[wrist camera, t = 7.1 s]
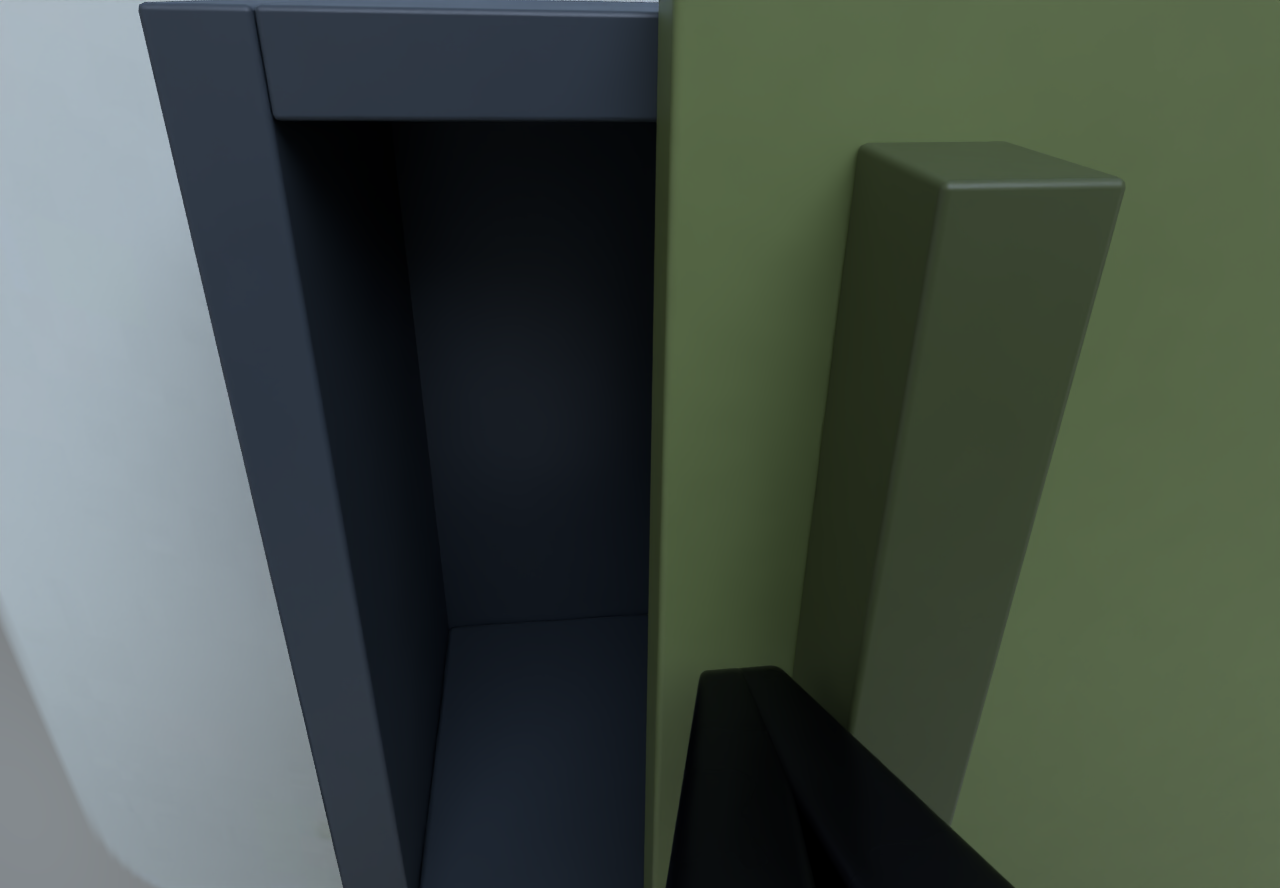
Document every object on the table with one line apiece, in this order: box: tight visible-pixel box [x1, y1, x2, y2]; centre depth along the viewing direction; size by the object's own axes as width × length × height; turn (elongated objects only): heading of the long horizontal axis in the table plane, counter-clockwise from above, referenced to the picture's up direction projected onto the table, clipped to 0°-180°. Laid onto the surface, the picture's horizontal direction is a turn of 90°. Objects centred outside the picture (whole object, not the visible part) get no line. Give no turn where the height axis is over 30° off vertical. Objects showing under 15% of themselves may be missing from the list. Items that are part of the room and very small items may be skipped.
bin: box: [139, 0, 659, 888], centre depth 12 cm, size 14×12×6 cm
